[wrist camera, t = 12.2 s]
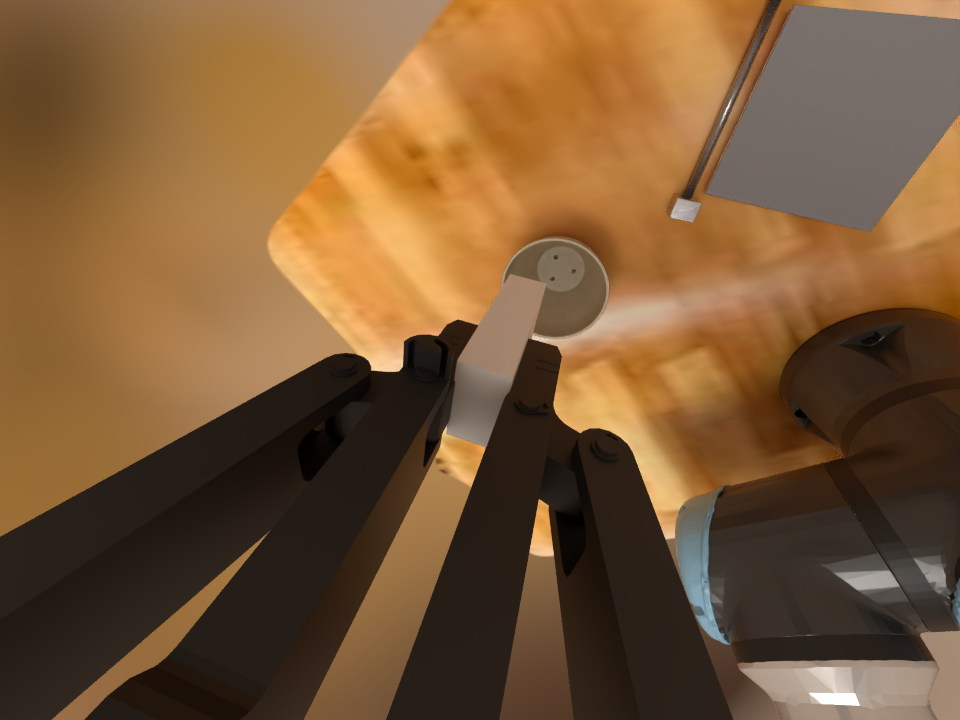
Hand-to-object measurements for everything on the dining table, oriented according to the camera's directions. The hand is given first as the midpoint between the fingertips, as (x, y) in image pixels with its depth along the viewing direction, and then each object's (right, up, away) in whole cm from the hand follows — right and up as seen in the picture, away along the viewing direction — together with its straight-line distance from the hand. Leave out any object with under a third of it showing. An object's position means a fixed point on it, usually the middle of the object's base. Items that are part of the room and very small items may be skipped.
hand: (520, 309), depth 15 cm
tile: (+24, +15, +11) cm, 30 cm away
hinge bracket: (+18, +18, +15) cm, 30 cm away
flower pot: (+7, +8, +25) cm, 28 cm away
